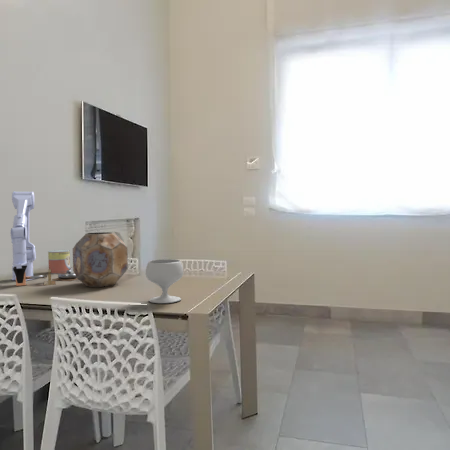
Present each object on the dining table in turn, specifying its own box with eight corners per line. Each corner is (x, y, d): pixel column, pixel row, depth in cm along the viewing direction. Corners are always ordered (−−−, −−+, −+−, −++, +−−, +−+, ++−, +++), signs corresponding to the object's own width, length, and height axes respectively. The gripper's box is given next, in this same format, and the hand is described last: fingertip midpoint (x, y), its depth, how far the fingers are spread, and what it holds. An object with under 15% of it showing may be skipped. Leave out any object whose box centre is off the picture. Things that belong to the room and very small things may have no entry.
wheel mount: (52, 279, 214) (52, 278, 214) (68, 276, 225) (68, 275, 225) (69, 281, 210) (69, 279, 210) (85, 277, 220) (85, 276, 220)
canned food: (65, 273, 234) (65, 251, 234) (45, 274, 234) (44, 252, 234) (73, 270, 245) (72, 249, 245) (53, 271, 246) (53, 250, 245)
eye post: (43, 285, 199) (43, 272, 199) (44, 282, 208) (43, 269, 208) (55, 284, 201) (55, 271, 201) (55, 281, 210) (55, 268, 210)
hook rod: (16, 285, 197) (15, 273, 197) (16, 284, 201) (16, 272, 201) (47, 283, 202) (46, 271, 202) (47, 282, 206) (47, 270, 206)
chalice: (138, 303, 159) (138, 262, 158) (158, 296, 172) (157, 258, 171) (172, 306, 154) (172, 264, 153) (189, 298, 167) (189, 259, 166)
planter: (63, 288, 191) (61, 234, 190) (97, 279, 214) (96, 231, 213) (105, 290, 184) (104, 235, 183) (136, 281, 207) (135, 231, 206)
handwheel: (75, 278, 212) (74, 270, 212) (54, 278, 212) (54, 270, 212) (82, 275, 222) (81, 267, 222) (62, 275, 222) (62, 267, 222)
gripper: (28, 253, 194) (29, 284, 195) (29, 251, 207) (30, 279, 208) (10, 254, 191) (11, 285, 192) (13, 251, 205) (14, 280, 205)
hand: (20, 282), depth 200 cm, fingers closed on hook rod, 4 cm apart
